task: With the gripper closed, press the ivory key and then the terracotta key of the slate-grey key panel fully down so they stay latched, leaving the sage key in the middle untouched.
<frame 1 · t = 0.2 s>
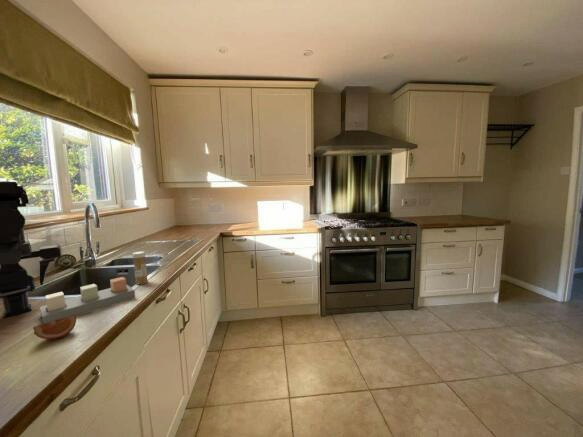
hand: (16, 289, 65), 14 cm above the counter, fingers open, 9 cm apart
sage key: (89, 293, 85), point 5 cm above the counter, slide at 0.0 cm
sprinkles bottle: (142, 283, 106), on the counter
fruit slice: (57, 337, 68), on the counter
key panel: (91, 306, 86), on the counter
terracotta key: (118, 285, 91), point 5 cm above the counter, slide at 0.0 cm
ivory key: (55, 302, 79), point 5 cm above the counter, slide at 0.0 cm
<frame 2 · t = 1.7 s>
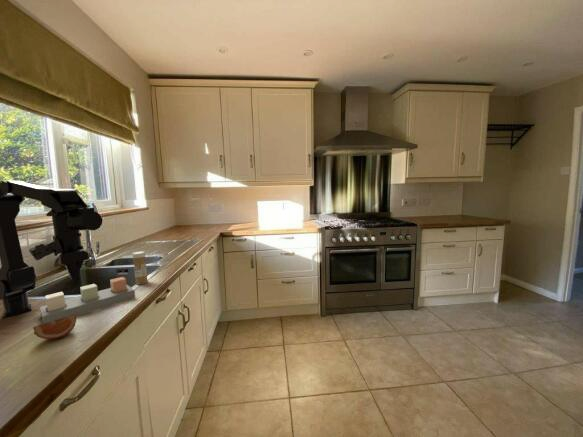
hand: (74, 279, 77), 12 cm above the counter, fingers closed
nothing on the counter moved.
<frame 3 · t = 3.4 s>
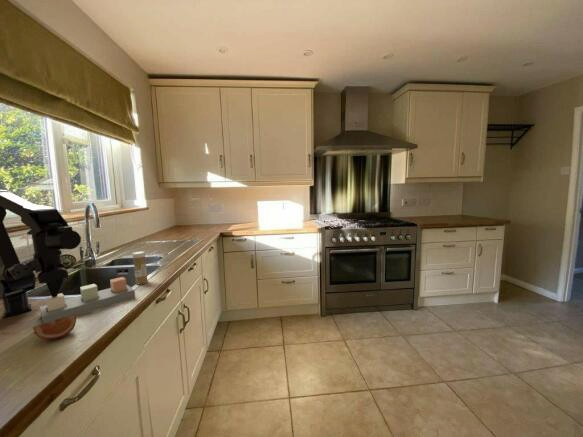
hand: (54, 296, 79), 7 cm above the counter, fingers closed, pressing on ivory key
ivory key: (55, 303, 79), point 4 cm above the counter, slide at 0.5 cm, touching gripper
everything else where it was.
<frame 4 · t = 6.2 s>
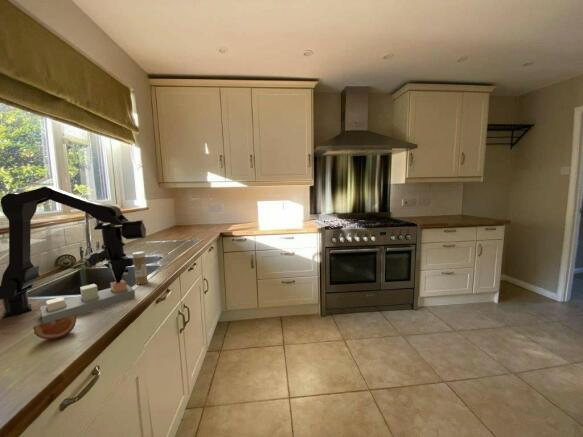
hand: (118, 282, 91), 6 cm above the counter, fingers closed, pressing on terracotta key
terracotta key: (119, 288, 92), point 3 cm above the counter, slide at 1.1 cm, touching gripper
ivory key: (56, 307, 79), point 3 cm above the counter, slide at 1.7 cm
everything else where it was.
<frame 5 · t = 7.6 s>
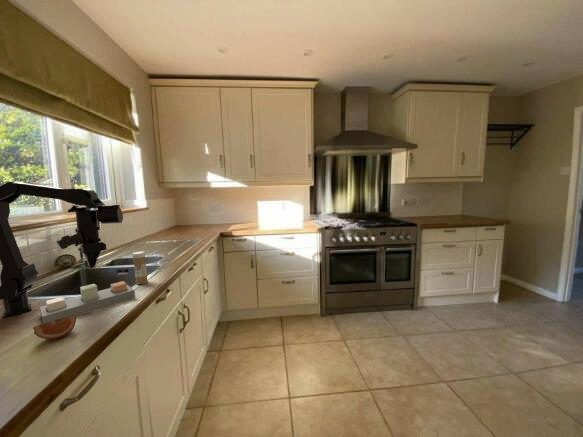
hand: (91, 267, 89), 12 cm above the counter, fingers closed
terracotta key: (119, 290, 92), point 3 cm above the counter, slide at 1.7 cm
everything else where it was.
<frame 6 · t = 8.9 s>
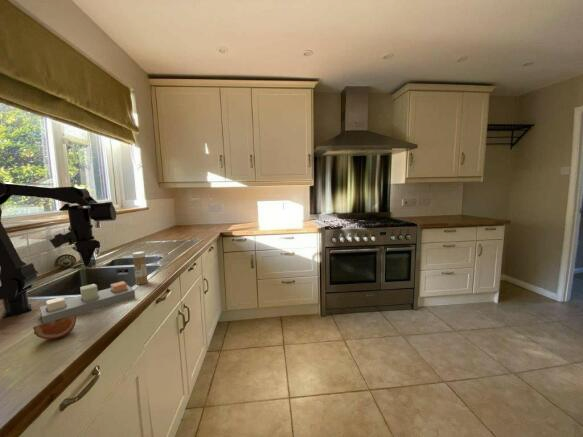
hand: (86, 265, 89), 13 cm above the counter, fingers closed
nothing on the counter moved.
at the end: ivory key slide at 1.7 cm; terracotta key slide at 1.7 cm; sage key slide at 0.0 cm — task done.
